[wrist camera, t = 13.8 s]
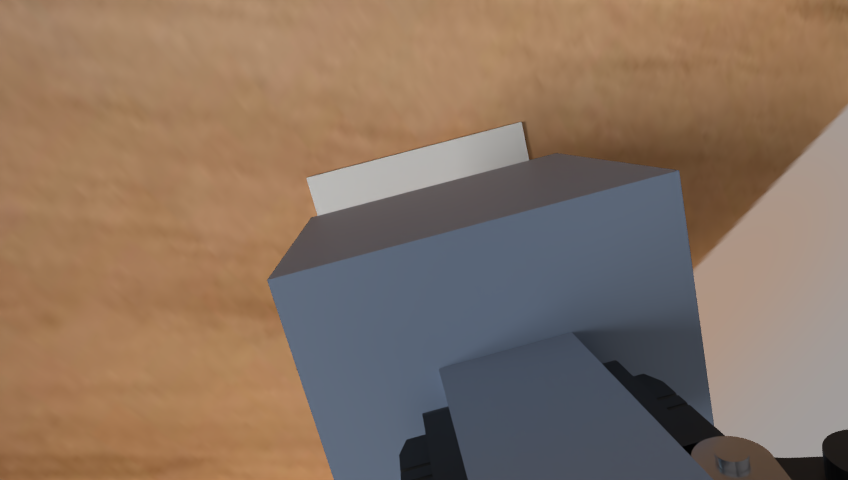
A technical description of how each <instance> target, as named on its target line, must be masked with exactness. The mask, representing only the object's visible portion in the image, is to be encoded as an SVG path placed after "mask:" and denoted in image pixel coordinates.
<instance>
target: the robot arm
mask: <svg viewBox="0 0 848 480" xmlns="http://www.w3.org/2000/svg"><path fill="white" fill-rule="evenodd" d="M602 364H603V365H604V366H605V367H606V368H607V370H608V371H609V372H610V373H611V374H612V375H613V376H614V377H615V378H616V379H617V380H618V381H619V382H620V383H621V384H622V385H623V386H624V387H625V388H626V389H627V390H628V391H629V392H630V393H631V394H632V395H633V397H634V398H635V399H636V400H637V401H638V402H639V403H640V404H641V405H642V406H643V407H644V408H645V409H646V410H647V411H648V412H649V413H650V414H651V415H652V416H653V417H654V418H655V419H656V420H657V421H658V423H659V424H660V425H661V426H662V427H663V428H664V429H665V430H666V431H667V432H668V433H669V434H670V435H671V436H672V437H673V438H674V439H675V440H676V441H677V442H678V443H679V444H680V445H681V446H682V447H683V449H684V450H685V451H686V452H687V453H688V454H689V455H690V456H691V457H692V458H693V459H694V460H695V461H696V462H697V463H698V464H699V465H700V466H701V467H702V468H703V469H704V470H705V471H706V472H707V473H708V474H709V476H710V477H711V478H712V479H713V480H848V430H842V431H838V432H835V433H832V434H831V435H829V436H827V438H826V439H825V440H824V441H823V444H822V451H823V457H806V458H805V457H804V458H775V457H773V455H772V454H771V453H770V452H769V451H768V450H767V449H765V448H764V447H763V446H761V445H759V444H758V443H755V442H753V441H750V440H747V439H744V438H739V437H733V436H725V435H723V434H722V433H721V432H720V431H719V430H718V429H717V428H715V427H714V426H713V425H712V424H711V423H710V422H709V421H708V420H706V419H705V418H704V417H703V416H702V415H701V414H700V413H698V412H697V411H696V410H695V409H694V408H693V407H692V406H690V405H688V404H687V402H686V401H685V400H684V399H683V398H681V397H680V396H679V395H677V394H676V392H675V391H673V390H672V389H671V388H670V387H669V386H668V385H667V384H665V383H664V382H663V381H661V380H659V379H656V378H653V377H651V376H648V375H646V374H640V375H636V376H633V375H631V374H630V373H629V372H628V371H627V370H626V369H625V368H624V367H623V366H622V365H621V364H620V363H619V362H618V361H616V360H613V361H610V362H606V363H602ZM422 415H423V422H424V428H425V435H421V436H417V437H414V438H410V439H407V440H406V442H405V444H404V446H403V448H402V450H401V452H400V454H399V460H400V471H401V473H400V474H401V480H468V478H467V474H466V471H465V467H464V463H463V459H462V456H461V452H460V448H459V444H458V440H457V437H456V433H455V429H454V425H453V422H452V418H451V414H450V410H449V406H447V407H443V408H440V409H436V410H433V411H429V412H425V413H422Z"/></svg>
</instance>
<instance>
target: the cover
mask: <svg viewBox="0 0 848 480" xmlns="http://www.w3.org/2000/svg"><path fill="white" fill-rule="evenodd" d="M267 281H268V284H269V287H270V290H271V293H272V296H273V299H274V302H275V305H276V308H277V311H278V314H279V317H280V320H281V323H282V326H283V329H284V332H285V335H286V338H287V341H288V343H289V346H290V349H291V352H292V355H293V358H294V361H295V364H296V367H297V370H298V373H299V376H300V379H301V382H302V385H303V388H304V391H305V394H306V397H307V400H308V403H309V406H310V409H311V412H312V415H313V418H314V421H315V424H316V427H317V430H318V433H319V436H320V439H321V442H322V445H323V448H324V451H325V454H326V457H327V460H328V463H329V466H330V469H331V472H332V475H333V478H334V480H401V474H400V473H401V471H400V460H399V454H400V452H401V450H402V448H403V446H404V444H405V442H406V440H407V439H410V438H414V437H417V436H421V435H425V428H424V422H423V415H422V413H425V412H429V411H433V410H436V409H440V408H443V407H447V406H449V410H450V414H451V418H452V422H453V425H454V429H455V433H456V437H457V440H458V444H459V448H460V452H461V456H462V459H463V463H464V467H465V471H466V474H467V478H468V480H713V479H712V478H711V477H710V476H709V474H708V473H707V472H706V471H705V470H704V469H703V468H702V467H701V466H700V465H699V464H698V463H697V462H696V461H695V460H694V459H693V458H692V457H691V456H690V455H689V454H688V453H687V452H686V451H685V450H684V449H683V447H682V446H681V445H680V444H679V443H678V442H677V441H676V440H675V439H674V438H673V437H672V436H671V435H670V434H669V433H668V432H667V431H666V430H665V429H664V428H663V427H662V426H661V425H660V424H659V423H658V421H657V420H656V419H655V418H654V417H653V416H652V415H651V414H650V413H649V412H648V411H647V410H646V409H645V408H644V407H643V406H642V405H641V404H640V403H639V402H638V401H637V400H636V399H635V398H634V397H633V395H632V394H631V393H630V392H629V391H628V390H627V389H626V388H625V387H624V386H623V385H622V384H621V383H620V382H619V381H618V380H617V379H616V378H615V377H614V376H613V375H612V374H611V373H610V372H609V371H608V370H607V368H606V367H605V366H604V365H603V364H602V363H606V362H610V361H613V360H616V361H618V362H619V363H620V364H621V365H622V366H623V367H624V368H625V369H626V370H627V371H628V372H629V373H630V374H631V375H633V376H636V375H640V374H646V375H648V376H651V377H653V378H656V379H659V380H661V381H663V382H664V383H665V384H667V385H668V386H669V387H670V388H671V389H672V390H673V391H675V392H676V394H677V395H679V396H680V397H681V398H683V399H684V400H685V401H686V402H687V404H688V405H690V406H692V407H693V408H694V409H695V410H696V411H697V412H698V413H700V414H701V415H702V416H703V417H704V418H705V419H706V420H708V421H709V422H710V423H711V424H712V425H713V426H714V423H713V415H712V408H711V401H710V393H709V387H708V379H707V371H706V365H705V357H704V349H703V342H702V336H701V327H700V321H699V313H698V306H697V298H696V291H695V284H694V276H693V269H692V261H691V254H690V247H689V240H688V232H687V225H686V218H685V210H684V203H683V196H682V188H681V181H680V174H679V170H673V169H666V168H658V167H651V166H644V165H637V164H630V163H623V162H616V161H609V160H601V159H594V158H587V157H580V156H573V155H566V154H559V153H555V154H551V155H547V156H544V157H540V158H536V159H532V160H528V161H525V162H521V163H517V164H513V165H509V166H505V167H502V168H498V169H494V170H490V171H486V172H483V173H479V174H475V175H471V176H467V177H464V178H460V179H456V180H452V181H448V182H445V183H441V184H437V185H433V186H429V187H426V188H422V189H418V190H414V191H410V192H406V193H403V194H399V195H395V196H391V197H387V198H384V199H380V200H376V201H372V202H368V203H365V204H361V205H357V206H353V207H349V208H346V209H342V210H338V211H334V212H330V213H327V214H323V215H319V216H315V217H311V219H310V220H309V222H308V223H307V224H306V226H305V227H304V229H303V230H302V231H301V233H300V234H299V236H298V237H297V239H296V240H295V241H294V243H293V244H292V246H291V247H290V248H289V250H288V251H287V253H286V254H285V256H284V257H283V258H282V260H281V261H280V263H279V264H278V265H277V267H276V268H275V270H274V271H273V273H272V274H271V275H270V277H269V278H268V280H267Z"/></svg>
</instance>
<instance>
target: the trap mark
mask: <svg viewBox="0 0 848 480" xmlns="http://www.w3.org/2000/svg"><path fill="white" fill-rule="evenodd" d="M528 160H529V157H528V152H527V147H526V142H525V137H524V132H523V127H522V122H519V123H515V124H511V125H507V126H503V127H500V128H496V129H492V130H488V131H484V132H480V133H476V134H473V135H469V136H465V137H461V138H457V139H453V140H450V141H446V142H442V143H438V144H434V145H430V146H427V147H423V148H419V149H415V150H411V151H407V152H404V153H400V154H396V155H392V156H388V157H384V158H381V159H377V160H373V161H369V162H365V163H361V164H358V165H354V166H350V167H346V168H342V169H338V170H335V171H331V172H327V173H323V174H319V175H315V176H311V177H308V178H307V182H308V185H309V188H310V192H311V195H312V198H313V201H314V205H315V208H316V211H317V215H318V216H319V215H323V214H327V213H330V212H334V211H338V210H342V209H346V208H349V207H353V206H357V205H361V204H365V203H368V202H372V201H376V200H380V199H384V198H387V197H391V196H395V195H399V194H403V193H406V192H410V191H414V190H418V189H422V188H426V187H429V186H433V185H437V184H441V183H445V182H448V181H452V180H456V179H460V178H464V177H467V176H471V175H475V174H479V173H483V172H486V171H490V170H494V169H498V168H502V167H505V166H509V165H513V164H517V163H521V162H525V161H528Z"/></svg>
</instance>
